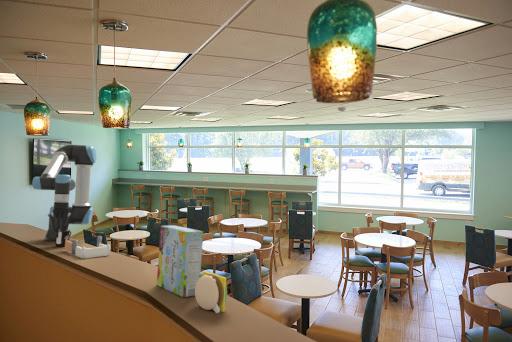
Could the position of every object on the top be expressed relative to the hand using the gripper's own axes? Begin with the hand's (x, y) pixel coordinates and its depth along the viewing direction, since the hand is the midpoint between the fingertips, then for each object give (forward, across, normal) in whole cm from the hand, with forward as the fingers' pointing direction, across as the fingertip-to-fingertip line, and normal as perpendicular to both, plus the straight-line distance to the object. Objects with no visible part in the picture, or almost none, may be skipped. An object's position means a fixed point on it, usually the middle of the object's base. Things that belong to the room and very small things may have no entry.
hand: (58, 243), depth 209 cm
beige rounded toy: (+7, +9, -120) cm, 121 cm away
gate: (+5, +6, -2) cm, 8 cm away
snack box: (+7, +13, -96) cm, 97 cm away
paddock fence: (+6, +13, -12) cm, 18 cm away
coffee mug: (+6, +10, +20) cm, 23 cm away
